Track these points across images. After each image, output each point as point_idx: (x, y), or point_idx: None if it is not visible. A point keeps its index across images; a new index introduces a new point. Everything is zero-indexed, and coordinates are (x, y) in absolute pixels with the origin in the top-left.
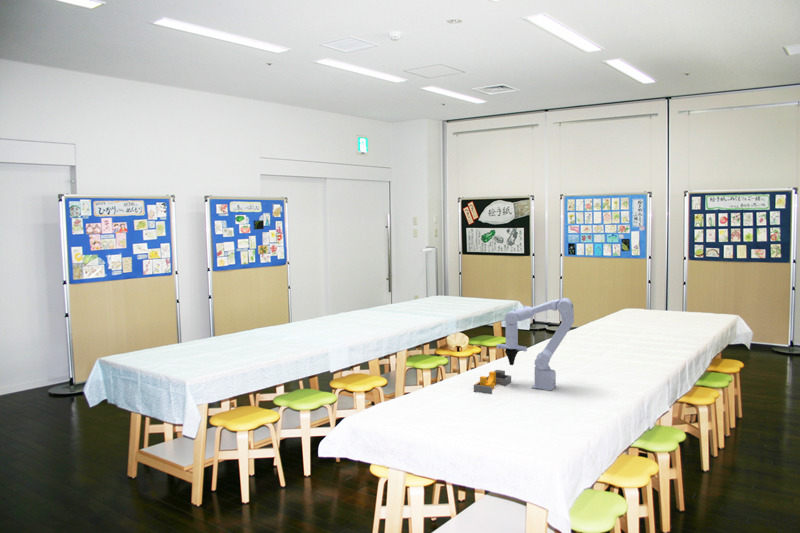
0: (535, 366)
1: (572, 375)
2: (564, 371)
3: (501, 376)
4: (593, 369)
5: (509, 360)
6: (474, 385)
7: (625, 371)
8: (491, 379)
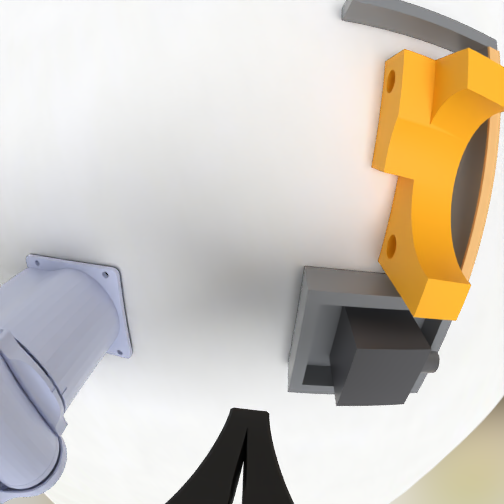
0: (56, 404)
1: (97, 454)
2: (140, 482)
3: (352, 327)
4: (94, 483)
5: (262, 455)
6: (489, 37)
7: None
8: (424, 229)
